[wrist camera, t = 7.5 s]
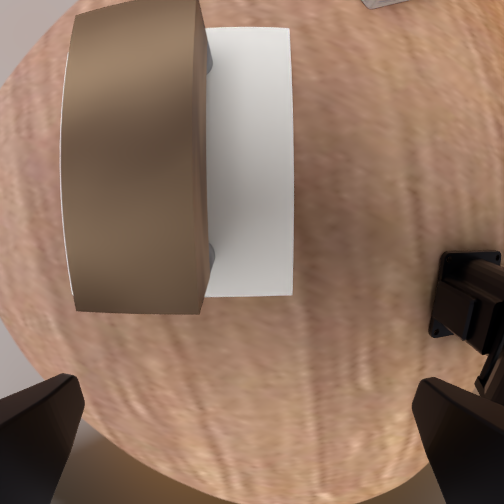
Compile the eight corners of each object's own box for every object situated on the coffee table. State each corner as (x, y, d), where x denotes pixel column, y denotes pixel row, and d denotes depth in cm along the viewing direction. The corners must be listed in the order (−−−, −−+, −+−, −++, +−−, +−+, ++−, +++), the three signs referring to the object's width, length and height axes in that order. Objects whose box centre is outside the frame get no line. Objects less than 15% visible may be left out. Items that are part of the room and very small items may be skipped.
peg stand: (287, 33, 16) (296, 8, 12) (290, 290, 19) (300, 311, 16) (73, 56, 15) (49, 40, 12) (77, 291, 19) (53, 309, 15)
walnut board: (210, 276, 15) (199, 314, 11) (115, 277, 15) (76, 311, 11) (207, 38, 13) (196, -9, 8) (112, 50, 12) (75, 15, 8)
